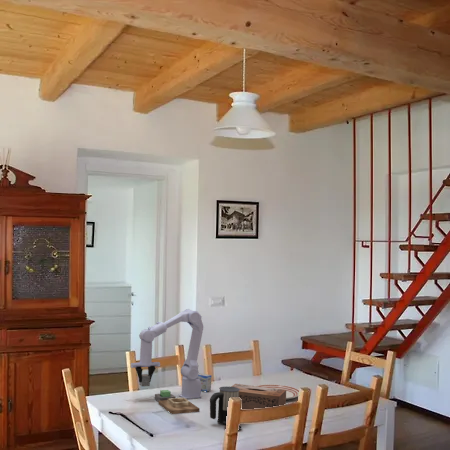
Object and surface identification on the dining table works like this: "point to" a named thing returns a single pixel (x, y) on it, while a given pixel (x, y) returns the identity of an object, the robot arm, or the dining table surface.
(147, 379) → the block
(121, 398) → the dining table surface
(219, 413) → the milk frother
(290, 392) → the dinner plate
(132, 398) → the dining table surface
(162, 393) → the button
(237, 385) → the tissue box cover
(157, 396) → the button housing
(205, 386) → the medicine box
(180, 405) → the brown wooden base
